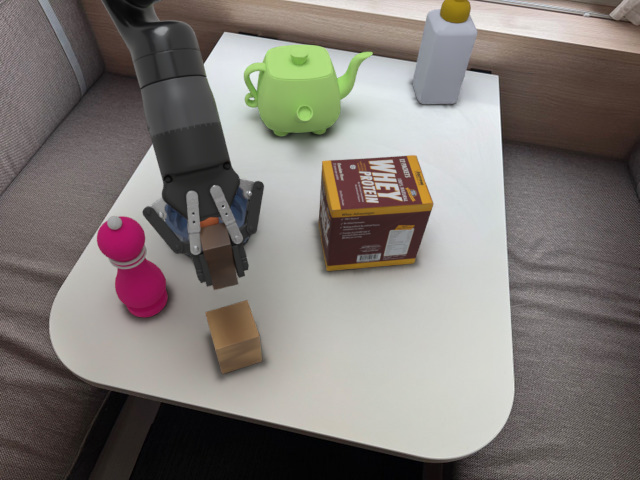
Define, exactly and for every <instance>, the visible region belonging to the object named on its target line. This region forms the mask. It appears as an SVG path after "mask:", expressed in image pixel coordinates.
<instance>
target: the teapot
mask: <svg viewBox="0 0 640 480" xmlns="http://www.w3.org/2000/svg"><path fill="white" fill-rule="evenodd" d="M373 54H374V53H373V51H363V52H360V53H357V54H356V55H354V56H353V57H352V58H351V60H349V61H350V62H349V64H348V66H347V69H346V71H345V72H344V74H342V75H341V76H339V77H338V76H337V74H336V73H337V72H336V69H335V66H334V64H333V60H332V58H331V56H330V53H329V51H328V50H327V48H325V47H323V46H320V45H313V44H288V45H279V46H275V47H272V48H269V49H268V50H267V51H266V53H265V55H264V56H263V60H262V61H261V62H259V61H257V62H253V63H251V64H249V65H248V66H247V67H246V68H245V69H244V72H243V81H244V84H245V86H246V88H247V90H248V91H249V92H248V93H246V94H245V96H244V104H245V105H246V106H247V107H249V108H252V109H253V108H254V109H255V108H257V110H258V114H259V117H260V119H261V121H262V122H263V124H264V125H265V126H266V127H267V128H268V129H269V130H272V131H273V134H274V135H275V136H278V137H286V136H288V135H289V134H290V133H292V134H293V133H295V134H297V133H299V134H302V133H311V132H312V133H313V134H316V135H324V134H325V133H326V132H327V129H329V128H331V127H332V126H333V125H334V124H335V123H336V122H337V121H338V119H339V118H340V115H341V108H342V107H341V100H343V99H345V98H347V96H348V95H350V93H351V92H352V90H353V89H354V86H355V83H356V78H357V75H358V72H359V68H360V67H361V65H362V63H363V62H364V61H365V60H367V59H368V58H370V57H371V56H372V55H373ZM255 72H258V77H257V84H256V85H257V86H256V87H255V86H254V84H253V82H252V80H251V77H250V75H251V74H253V73H255ZM251 98H253V99H251Z"/></svg>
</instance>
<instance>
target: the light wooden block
mask: <svg viewBox="0 0 640 480" xmlns="http://www.w3.org/2000/svg"><path fill="white" fill-rule="evenodd" d="M204 313H205V317H206V321H207V324H208V329H209V334H210V336H211V340H212V344H213V347H214V350H215V354H216V358H217V361H218V365H219V369H220V372H221V374H222V375H225V374H227V373H230V372H234V371H237V370H240V369H243V368H246V367H249V366H252V365H255V364H258V363H261V362H263V357H262V356H263V355H262V347H261V346H262V345H261V337H260V333H259V330H258V327H257V325H256V321H255V319H254V316H253V312H252V309H251V306H250V303H249V300H248V299H246V300H242V301H239V302H235V303H232V304H229V305H224V306H223V307H222V306H221V307H219V308H218V307H217V308H215V309H212V310H208V311H205V312H204Z"/></svg>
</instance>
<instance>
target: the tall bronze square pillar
mask: <svg viewBox="0 0 640 480" xmlns="http://www.w3.org/2000/svg"><path fill="white" fill-rule="evenodd" d="M200 231H201V235H200V240H201V244H202V249H203V253H204V256H205V260H207V264H208V268H209V272H210V275H211V279H212V283H213V285H212V288H213V291H217V290H220V289H225V288H229V287H233V286H236V285H239V280H238V275H237V272H236V269H235V263H234V258H233V253H232V247H231V242H230V239H229V235H228V231H227V228H226V226H225V224H224V223H220V224H215V225H211V226H206V227H202V228H200Z"/></svg>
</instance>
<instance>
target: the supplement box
mask: <svg viewBox="0 0 640 480" xmlns="http://www.w3.org/2000/svg"><path fill="white" fill-rule="evenodd" d="M320 177H321V178H320V191H319V192H320V193H319V210H318V211H319V212H318V223H317V225H318V231H319V237H320V242H321V248H322V254H323V260H324V264H325V269H326V272H331V271H342V270H355V269H364V268H367V269H368V268H376V267H377V268H378V267H387V266H401V265H411V264H412V265H413V264H415V263H416V259H417V256H418V254H419V250H420V248H421V244H422V242H423V237H424V235H425V232H426V229H427V225H428V223H429V219H430V216H431V214H432V211H433V209H434V208H433V207H434V205H435V203H434V200H433V198H432V196H431V192H430V191H429V188H428V185H427V182H426V179H425V176H424V173H423V171H422V167H421V164H420V161H419V158H418V156H417V155H415V154H409V155H396V156H395V155H394V156H382V157H381V156H380V157H366V158H349V159H348V158H347V159H331V160H321V176H320Z"/></svg>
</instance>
